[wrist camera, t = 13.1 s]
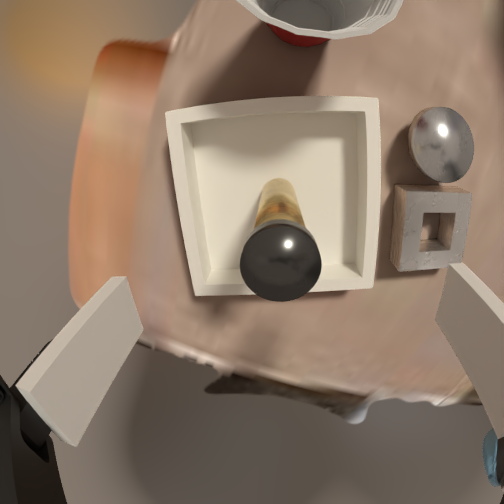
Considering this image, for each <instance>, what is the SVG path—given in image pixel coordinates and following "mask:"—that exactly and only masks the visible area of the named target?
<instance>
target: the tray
mask: <svg viewBox="0 0 504 504" xmlns="http://www.w3.org/2000/svg"><path fill="white" fill-rule="evenodd" d="M165 116H166V125H167V133H168V141H169V149H170V157H171V164H172V171H173V178H174V185H175V191H176V197H177V203H178V209H179V215H180V221H181V227H182V232H183V238H184V243H185V248H186V254H187V259H188V264H189V269H190V274H191V278H192V283H193V288H194V292H195V296H212V295H253V294H255V293H254V292H252V291H251V290H250V289H249V288H248V286H247V285H246V284H245V282H244V280H243V278H242V276H241V272H240V258H241V254H242V250H243V246H244V243H245V241H246V239H247V237H248V235H249V234H250V233H251V232H252V231H253V230H254V226H255V222H256V217H257V212H258V208H259V203H260V199H261V194H262V190H263V187H264V185H265V184H266V183H267V182H268V181H270V180H272V179H274V178H282V179H285V180H287V181H289V182H290V183H291V184H292V186H293V187H294V190H295V193H296V197H297V200H298V203H299V207H300V210H301V213H302V217H303V220H304V224H305V227H306V229H307V230H309V231H310V233H311V234H312V235H313V237H314V239H315V241H316V243H317V246H318V249H319V252H320V256H321V261H322V268H321V273H320V276H319V279H318V281H317V282H316V284H315V285H314V287H313V288H312V289H311V290H310V291H309V292H321V291H337V290H352V289H366V288H373V283H374V275H375V266H376V256H377V245H378V232H379V217H380V193H381V141H380V118H379V103H378V98H370V97H352V96H292V97H273V98H259V99H248V100H238V101H229V102H222V103H214V104H207V105H201V106H195V107H189V108H183V109H178V110H173V111H168V112H165Z"/></svg>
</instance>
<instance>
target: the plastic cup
mask: <svg viewBox="0 0 504 504" xmlns="http://www.w3.org/2000/svg"><path fill="white" fill-rule="evenodd" d="M236 1H238V2H239V3H240V4H241V5H243V6H244V7H245V8H246V9H248V10H249V11H250V12H251V13H253V14H254V15H255V16H256V17H257V18H259V19H260V20H262V21H265V22H266V24H267V25H268V26H269V27H270V28H271V29H272V31H273V32H274V33H275V34H276V35H277V36H278V37H279V38H280V39H282V40H283V41H285V42H288V43H290V44H292V45H295V46H305V47H310V46H314V45H318V44H321V43H323V42H324V41H327V40H330V39H336V40H337V39H342V38H348V37H354V36H360V35H367V34H371V33H373V32H374V31H376V30H377V29H379V28H381V27H382V26H384V25H385V24H387V23H389V22H390V21H392V20H394V19H395V17H396V15H397V13H398V11H399V9H400V7H401V5H402V3H403V1H404V0H236Z"/></svg>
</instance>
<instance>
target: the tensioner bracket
mask: <svg viewBox="0 0 504 504" xmlns="http://www.w3.org/2000/svg"><path fill="white" fill-rule="evenodd" d="M408 148H409V152H410V156H411V158H412V160H413V162H414V164H415V165H416V167H417V168H418V169H419V170H420V172H422V173H423V174H424V175H426V176H427V177H429V178H432V179H434V180H436V181H439V182H442V183H451V182H455V181H457V180H459V179H460V178H462V177H463V176H464V175H465V174H466V172H467V171H468V169H469V167H470V165H471V163H472V160H473V155H474V142H473V137H472V133H471V130H470V128H469V126H468V124H467V123H466V121H465V120H464V118H463V117H462V116H461V115H460V114H458V113H457V112H456V111H454V110H452V109H450V108H446V107H431V108H426V109H424V110H422V111H421V112H419V113H418V114H417V115H416V116H415V118H414V119H413V121H412V123H411V125H410V128H409V132H408ZM471 200H472V193H470V192H468V191H466V190H463V189H461V188H459V187H456V186H435V185H400V184H395V189H394V209H393V224H392V236H391V246H390V255H389V259H390V260H391V262H392V263H393V264H394V266H395V267H396V269H397V270H398V271H399V272H401V271H414V270H426V269H438V268H448V266H449V264H452V263H461V262H462V257H463V252H464V247H465V242H466V236H467V230H468V224H469V216H470V209H471ZM424 213H441V215H440V224H439V231H438V238H437V239H428V240H421V232H422V223H423V214H424Z"/></svg>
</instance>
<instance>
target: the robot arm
mask: <svg viewBox="0 0 504 504" xmlns="http://www.w3.org/2000/svg"><path fill="white" fill-rule="evenodd" d="M435 320H436V322H437V324H438V325H439V327H440V328H441V330H442V332H443V333H444V335H445V336H446V338H447V340H448V341H449V343H450V345H451V347H452V348H453V350H454V352H455V353H456V355H457V357H458V359H459V360H460V362H461V364H462V366H463V368H464V369H465V371H466V373H467V375H468V377H469V379H470V381H471V382H472V384H473V386H474V388H475V390H476V392H477V394H478V396H479V398H480V400H481V402H482V404H483V406H484V408H485V411H486V413H487V415H488V417H489V419H490V422H491V424H492V426H493V428H492V429H491V430H490V431H489V432H488V433H487V435H486V436H485V438H484V442H483V460H484V466H485V470H486V474H487V475H488V479H489V481H490V483H491V485H492V486H494V487H496V486H500V485H501V487H502V491H504V303H503V302H502V301H501V300H500V299H499V298H498V297H497V296H496V295H495V294H494V293H493V292H492V291H491V290H490V289H489V288H488V287H487V286H486V285H485V284H484V283H483V282H482V281H481V280H480V279H479V278H478V277H477V276H476V275H475V274H474V273H473V272H472V271H471V270H470V269H469V268H468V267H467V266H466V265H465V264H464V263H452V264H449V266H448V271H447V275H446V280H445V284H444V288H443V292H442V296H441V300H440V304H439V308H438V311H437V315H436V318H435ZM143 330H144V329H143V326H142V323H141V321H140V318H139V315H138V312H137V309H136V306H135V303H134V300H133V297H132V293H131V290H130V287H129V284H128V280H127V277H111V278H110V279H109V280H108V281H107V282H106V283H105V284H104V285H103V286H102V287H101V288H100V289H99V290H98V291H97V292H96V293H95V295H94V296H93V297H92V298H91V299H90V300H89V301H88V302H87V303H86V304H85V305H84V306H83V307H82V308H81V309H80V310H79V311H78V313H77V314H76V315H75V316H74V317H73V318H72V319H71V320H70V321H69V322H68V323H67V325H66V326H65V327H64V328H63V329H62V330H61V331H60V333H58V335H57V336H56V337H55V338H54V339H52V340H51V341H50V342H48V343H47V344H46V345H45V346H44V347H43V348H42V350H41V351H40V352H39V354H37V356H36V357H35V358H34V359H33V362H31V363H30V364H29V365H28V366H27V368H26V369H25V370H24V371H23V373H22V374H21V375H20V376H19V378H18V379H17V380H16V381H15V383H14V384H13V385H12V386H11V387H10V388H9V387H8V385H7V384H6V383H5V381H4V380H3V378H2V377H1V375H0V504H67V502H66V498H65V495H64V491H63V487H62V483H61V479H60V475H59V471H58V466H57V461H56V456H55V451H54V445H53V441H52V439H51V437H50V436H49V434H50V432H51V430H52V431H53V432H54V434H55V435H56V436H57V437H58V438H59V439H60V440H61V441H64V442H66V443H68V444H71V445H73V446H75V447H77V445H78V443H79V441H80V440H81V437H82V436H83V434H84V432H85V430H86V428H87V426H88V424H89V422H90V421H91V419H92V417H93V415H94V414H95V412H96V410H97V408H98V406H99V405H100V403H101V401H102V399H103V397H104V396H105V394H106V392H107V390H108V389H109V387H110V385H111V383H112V382H113V380H114V378H115V376H116V375H117V373H118V371H119V369H120V368H121V366H122V365H123V363H124V361H125V359H126V358H127V356H128V354H129V353H130V351H131V350H132V348H133V346H134V345H135V343H136V341H137V340H138V338H139V336H140V335H141V333H142V332H143ZM500 504H504V494H503V497H502V500H501V503H500Z"/></svg>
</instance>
